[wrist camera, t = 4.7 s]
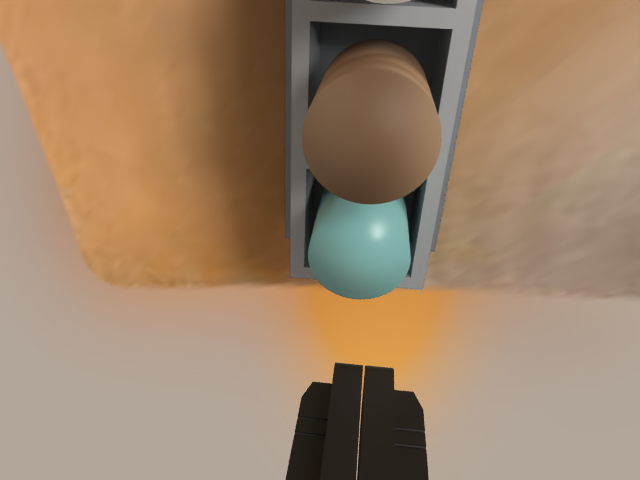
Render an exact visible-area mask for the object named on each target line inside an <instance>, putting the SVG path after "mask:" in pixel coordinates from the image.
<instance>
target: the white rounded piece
mask: <svg viewBox="0 0 640 480" xmlns="http://www.w3.org/2000/svg"><path fill="white" fill-rule="evenodd" d="M366 1H370V2H373V3H381V4H396V3H402V2H407V1H410V0H366Z"/></svg>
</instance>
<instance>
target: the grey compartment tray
mask: <svg viewBox="0 0 640 480" xmlns="http://www.w3.org/2000/svg"><path fill="white" fill-rule="evenodd" d="M483 1H484V0H410V1H407V2H402V3H396V4H381V3H373V2H370V1H366V0H285V238H290V277H295V278H305V279H315V280H317V279H316V278H315V276H314V275H313V273H312V271H311V268H310V266H309V261H308V248H309V244H310V240H311V236H312V232H313V228H314V224H315V220H316V216H317V212H318V208H319V204H320V200H321V196H322V192H323V189H324V187H323V186H322V185H321V184H320V183H319V182H318V180H317V179H316V178H315V177H314V175H313V174H312V172H311V171H310V169H309V167H308V165H307V163H306V160H305V157H304V153H303V148H302V129H303V124H304V120H305V117H306V114H307V112H308V110H309V107H310V105H311V103H312V101H313V99H314V97H315V94H316V92H317V90H318V88H319V86H320V84H321V81H322V79H323V77H324V75H325V73H326V71H327V69H328V67H329V65H330V64H331V62H332V61H333V59H334V58H335V57H336V56H337V55H338V54H339V53H340V52H341V51H343V50H344V49H345V48H347V47H348V46H350V45H352V44H354V43H356V42H359V41H362V40H367V39H385V40H389V41H393V42H396V43H398V44H400V45H402V46H403V47H405V48H407V49H408V50H409V51H410V52H411V53H412V54H413V55H414V56H415V57H416V58H417V60H418V61H419V63H420V64H421V66H422V68H423V70H424V73H425V76H426V79H427V82H428V85H429V88H430V91H431V95H432V98H433V101H434V104H435V107H436V110H437V113H438V116H439V120H440V124H441V130H442V142H441V149H440V153H439V157H438V159H437V162H436V164H435V166H434V168H433V170H432V172H431V173H430V174H429V176H428V177H427V179H426V180H425V181H424V182H423V183H422V184H421V185H420V186H419V187H417V188H416V189H415V190H414V191H412V192H411V193H409V194H408V195H406V196H405V197H406V209H407V220H408V232H409V243H410V256H411V260H410V267H409V270H408V272H407V275H406V276H405V278H404V279H403V281H402V282H401V283H400V284H399V285H398V286H397V287H396V288H407V289H417V290H423V286H424V281H425V275H426V270H427V265H428V259H429V254H430V251H433V252H435V247H436V242H437V237H438V232H439V227H440V222H441V217H442V211H443V206H444V201H445V196H446V191H447V186H448V181H449V175H450V170H451V165H452V160H453V155H454V150H455V145H456V139H457V134H458V129H459V124H460V119H461V114H462V109H463V103H464V98H465V93H466V88H467V83H468V78H469V73H470V67H471V62H472V57H473V52H474V47H475V42H476V37H477V31H478V26H479V21H480V16H481V11H482V6H483Z"/></svg>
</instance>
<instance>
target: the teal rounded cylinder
mask: <svg viewBox="0 0 640 480" xmlns="http://www.w3.org/2000/svg"><path fill="white" fill-rule="evenodd" d="M410 260H411V256H410V243H409V232H408V220H407V209H406V197H405V196H404V197H402V198H400V199H397V200H394V201H391V202H388V203H383V204H373V205H372V204H359V203H354V202H350V201H347V200H344V199H342V198H340V197H338V196H336V195H334V194H332V193H331V192H330V191H328V190H327V189H326V188H324V189H323V192H322V196H321V200H320V204H319V208H318V212H317V216H316V220H315V224H314V228H313V232H312V236H311V240H310V244H309V248H308V261H309V266H310V268H311V271H312V273H313V275H314V276H315V278H316V279H317V280H318V281H319V282H320V284H321V285H323V286H324V287H325V288H326V289H328V290H329V291H331V292H333V293H335V294H337V295H340V296H343V297H346V298H352V299H371V298H375V297H379V296H382V295H384V294H387V293H388V292H390V291H392V290H393V289H395V288H396V287H397V286H398V285H399V284H400V283H401V282H402V281H403V279H404V278H405V276H406V275H407V272H408V270H409V267H410Z"/></svg>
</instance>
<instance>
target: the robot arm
mask: <svg viewBox="0 0 640 480" xmlns="http://www.w3.org/2000/svg"><path fill="white" fill-rule="evenodd" d="M362 372H363V365H353V364H343V363H335V367H334V374H333V383H332V384H330V383H320V382H312V384H311V385H310V386H309V388H308V389H307V391H306V392H305V393H304V395H303V396H302V398H301V403H300V408H299V413H298V420H297V424H296V429H295V435H294V440H293V444H292V449H291V455H290V460H289V465H288V470H287V475H286V480H356V470H357V453H358V437H359V421H360V420H359V419H360V404H361V389H362ZM357 480H428V467H427V454H426V441H425V427H424V414H423V409H422V407H421V405H420V403H419V401H418V399H417V398H416V396H415V394H414V392H409V391H398V390H394V369H393V368H385V367H375V366H365V375H364V387H363V398H362V411H361V425H360V441H359V458H358V476H357Z"/></svg>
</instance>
